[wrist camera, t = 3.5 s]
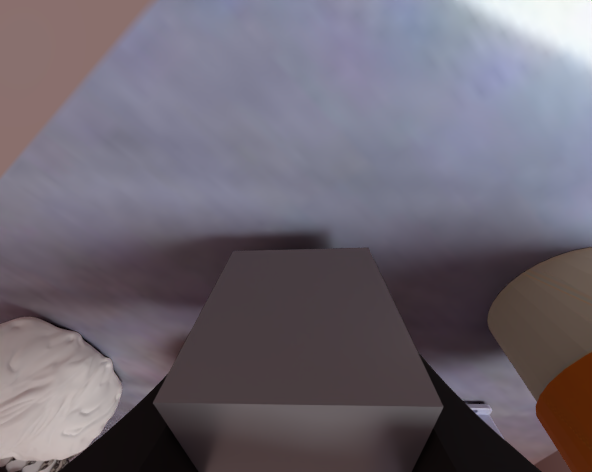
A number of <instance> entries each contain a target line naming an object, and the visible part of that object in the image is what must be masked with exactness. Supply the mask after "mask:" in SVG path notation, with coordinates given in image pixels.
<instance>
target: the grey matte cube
mask: <svg viewBox="0 0 592 472" xmlns="http://www.w3.org/2000/svg"><path fill="white" fill-rule="evenodd" d="M153 404H154V405H155V407H156V408H157V410H158V411H159V413H160V414H161V416H162V417H163V419H164V420H165V422H166V423H167V425H168V426H169V428H170V429H171V431H172V432H173V434H174V435H175V437H176V438H177V440H178V441H179V443H180V445H181V446H182V448H183V449H184V451H185V452H186V454H187V455H188V457H189V458H190V460H191V461H192V463H193V464H194V466H195V467H196V469H197V470H198V472H412V470H413V468H414V466H415V464H416V462H417V460H418V458H419V456H420V454H421V452H422V450H423V448H424V446H425V444H426V442H427V440H428V438H429V436H430V433H431V431H432V429H433V427H434V425H435V423H436V421H437V419H438V417H439V415H440V413H441V411H442V409H443V405H442V403H441V400H440V398H439V396H438V394H437V392H436V390H435V388H434V386H433V384H432V381H431V379H430V377H429V375H428V373H427V371H426V369H425V367H424V364H423V362H422V360H421V358H420V356H419V354H418V352H417V350H416V348H415V345H414V343H413V341H412V339H411V337H410V335H409V333H408V331H407V329H406V326H405V324H404V322H403V320H402V318H401V316H400V314H399V312H398V310H397V307H396V305H395V303H394V301H393V299H392V297H391V295H390V293H389V291H388V288H387V286H386V284H385V282H384V280H383V278H382V276H381V274H380V271H379V269H378V267H377V265H376V263H375V261H374V259H373V257H372V255H371V252H370V250H369V248H333V249H293V250H253V251H233V252H232V254H231V256H230V258H229V260H228V262H227V264H226V266H225V267H224V269H223V271H222V273H221V275H220V277H219V279H218V281H217V283H216V284H215V286H214V288H213V290H212V292H211V294H210V296H209V298H208V300H207V301H206V303H205V305H204V307H203V309H202V311H201V313H200V315H199V317H198V318H197V320H196V322H195V324H194V326H193V328H192V330H191V332H190V334H189V335H188V337H187V339H186V341H185V343H184V345H183V347H182V349H181V351H180V352H179V354H178V356H177V358H176V360H175V362H174V364H173V366H172V368H171V369H170V371H169V373H168V375H167V377H166V379H165V381H164V383H163V385H162V386H161V388H160V390H159V392H158V394H157V396H156V398H155V400H154V402H153Z"/></svg>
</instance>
